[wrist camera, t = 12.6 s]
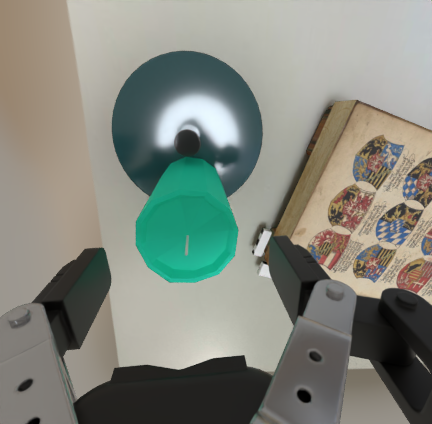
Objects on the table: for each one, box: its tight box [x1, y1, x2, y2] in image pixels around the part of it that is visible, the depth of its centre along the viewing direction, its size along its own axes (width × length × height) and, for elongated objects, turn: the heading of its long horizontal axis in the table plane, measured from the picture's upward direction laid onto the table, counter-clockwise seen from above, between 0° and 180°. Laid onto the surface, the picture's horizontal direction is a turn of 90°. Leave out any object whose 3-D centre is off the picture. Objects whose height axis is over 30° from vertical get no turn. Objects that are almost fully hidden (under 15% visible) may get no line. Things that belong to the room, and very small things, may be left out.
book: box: [252, 100, 432, 305], centre depth 33 cm, size 25×6×28 cm
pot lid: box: [112, 51, 263, 197], centre depth 20 cm, size 13×13×5 cm
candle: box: [136, 157, 238, 283], centre depth 18 cm, size 6×6×12 cm
